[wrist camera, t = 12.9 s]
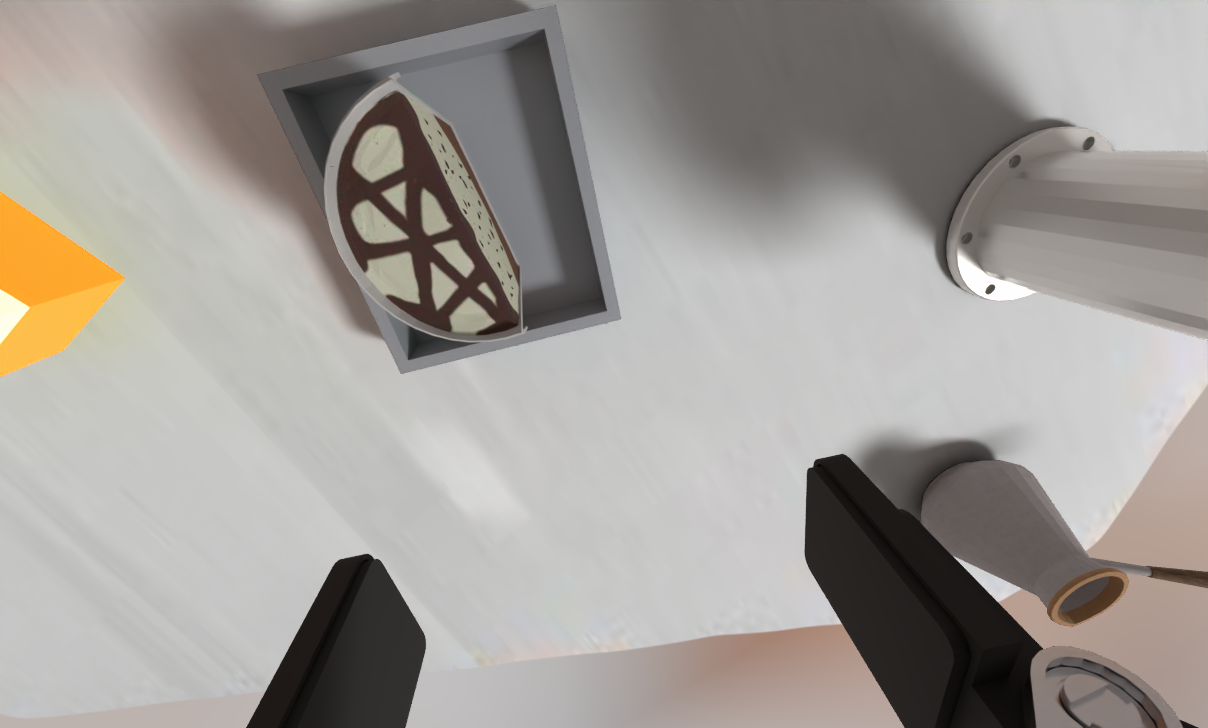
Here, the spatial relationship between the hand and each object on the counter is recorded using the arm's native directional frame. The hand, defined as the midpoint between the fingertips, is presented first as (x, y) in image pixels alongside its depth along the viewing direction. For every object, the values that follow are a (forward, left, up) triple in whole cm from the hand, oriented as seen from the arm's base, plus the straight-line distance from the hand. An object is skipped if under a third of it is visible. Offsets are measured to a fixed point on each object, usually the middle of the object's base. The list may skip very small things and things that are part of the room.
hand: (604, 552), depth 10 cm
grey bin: (+4, -6, -25) cm, 26 cm away
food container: (+6, -5, -24) cm, 25 cm away
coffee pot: (-40, +33, -25) cm, 58 cm away
